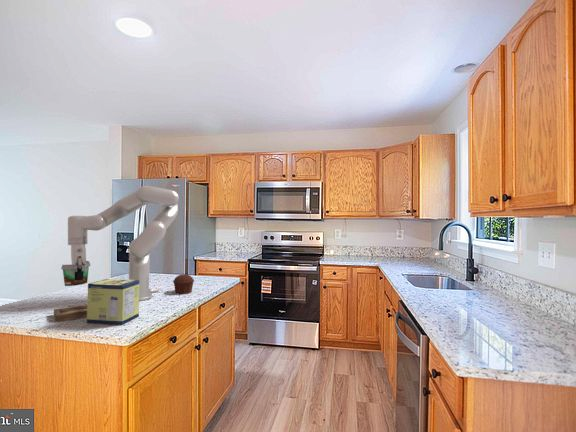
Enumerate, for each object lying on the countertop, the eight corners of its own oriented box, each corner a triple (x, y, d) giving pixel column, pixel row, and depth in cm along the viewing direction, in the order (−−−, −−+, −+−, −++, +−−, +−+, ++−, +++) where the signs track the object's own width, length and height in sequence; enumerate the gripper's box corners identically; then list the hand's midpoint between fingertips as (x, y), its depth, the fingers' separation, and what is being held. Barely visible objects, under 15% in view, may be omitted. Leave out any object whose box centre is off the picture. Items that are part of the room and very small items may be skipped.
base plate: (101, 307, 131) (101, 302, 131) (106, 313, 123) (106, 307, 123) (53, 315, 119) (53, 309, 119) (55, 322, 111) (55, 315, 111)
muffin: (169, 291, 162) (170, 274, 163) (188, 289, 170) (188, 272, 170) (177, 296, 154) (178, 277, 154) (197, 292, 161) (197, 275, 161)
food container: (70, 287, 128) (70, 265, 128) (61, 286, 130) (61, 264, 130) (96, 281, 140) (96, 261, 140) (87, 280, 142) (87, 260, 142)
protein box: (105, 314, 121) (106, 278, 122) (139, 316, 120) (140, 279, 120) (85, 323, 111) (86, 283, 111) (122, 325, 109) (123, 285, 110)
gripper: (90, 241, 131) (90, 280, 131) (84, 240, 144) (84, 275, 144) (70, 243, 126) (70, 283, 126) (66, 241, 139) (66, 277, 139)
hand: (78, 278), depth 135 cm, fingers closed on food container, 6 cm apart
